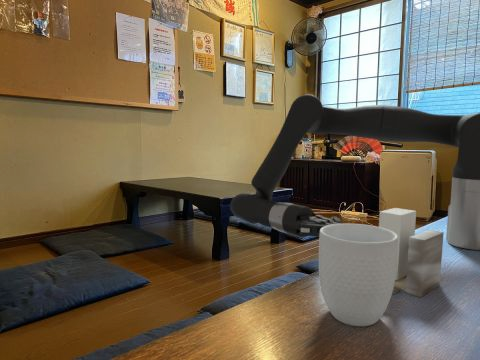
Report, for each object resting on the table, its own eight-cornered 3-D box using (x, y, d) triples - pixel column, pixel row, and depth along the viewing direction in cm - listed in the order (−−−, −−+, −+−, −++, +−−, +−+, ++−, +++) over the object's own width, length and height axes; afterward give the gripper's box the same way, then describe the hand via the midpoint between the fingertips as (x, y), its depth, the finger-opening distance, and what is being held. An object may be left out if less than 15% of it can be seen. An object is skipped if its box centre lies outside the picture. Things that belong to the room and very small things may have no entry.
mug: (362, 288, 62) (366, 217, 60) (423, 314, 53) (429, 231, 51) (301, 310, 54) (303, 228, 52) (360, 345, 45) (365, 247, 43)
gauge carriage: (366, 278, 63) (369, 214, 62) (392, 266, 69) (395, 207, 68) (387, 285, 60) (391, 218, 59) (412, 272, 66) (416, 211, 65)
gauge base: (341, 275, 67) (343, 226, 66) (369, 264, 74) (371, 218, 73) (414, 301, 57) (417, 242, 56) (439, 285, 63) (443, 232, 62)
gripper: (272, 207, 81) (335, 220, 67) (309, 201, 89) (371, 212, 76) (272, 238, 82) (333, 257, 68) (308, 229, 90) (369, 245, 77)
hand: (353, 233), depth 72 cm, fingers closed
